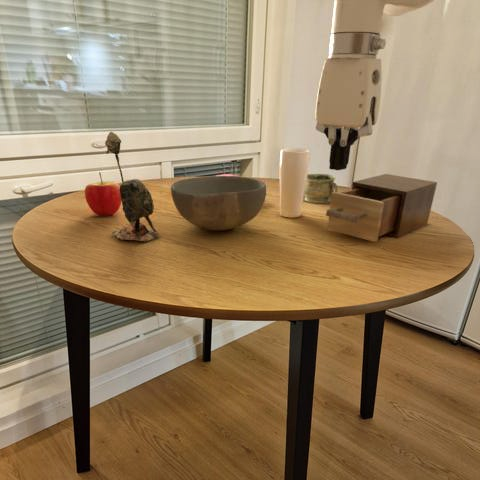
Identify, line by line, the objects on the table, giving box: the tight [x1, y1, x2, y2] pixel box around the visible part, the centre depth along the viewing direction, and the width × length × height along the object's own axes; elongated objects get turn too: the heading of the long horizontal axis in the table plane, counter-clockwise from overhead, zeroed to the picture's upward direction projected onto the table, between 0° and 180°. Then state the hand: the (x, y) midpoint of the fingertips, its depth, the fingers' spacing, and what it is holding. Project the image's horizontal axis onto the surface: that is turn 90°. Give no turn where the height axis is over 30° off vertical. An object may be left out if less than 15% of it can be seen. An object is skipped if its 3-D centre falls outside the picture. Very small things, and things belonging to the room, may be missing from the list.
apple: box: [84, 172, 122, 217], centre depth 99 cm, size 8×8×10 cm
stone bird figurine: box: [104, 131, 159, 242], centre depth 82 cm, size 8×11×20 cm
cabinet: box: [351, 173, 438, 239], centre depth 96 cm, size 15×13×10 cm
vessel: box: [303, 173, 339, 204], centre depth 117 cm, size 12×9×6 cm
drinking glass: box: [278, 147, 311, 219], centre depth 100 cm, size 7×7×15 cm
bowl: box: [170, 175, 267, 232], centre depth 92 cm, size 20×20×10 cm
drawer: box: [325, 187, 402, 243], centre depth 89 cm, size 18×11×8 cm, turn 135°
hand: (337, 168), depth 77 cm, fingers closed
